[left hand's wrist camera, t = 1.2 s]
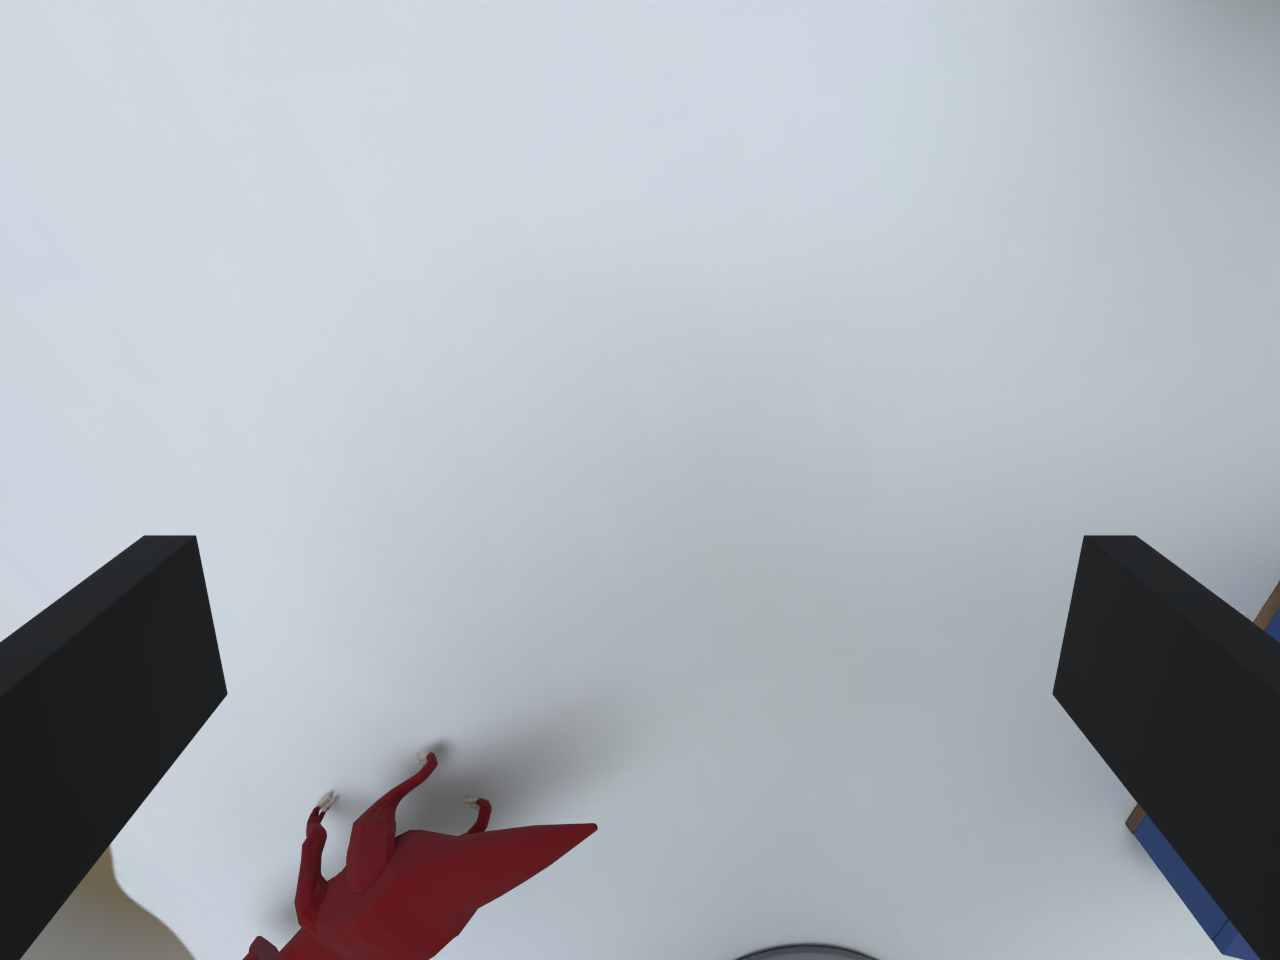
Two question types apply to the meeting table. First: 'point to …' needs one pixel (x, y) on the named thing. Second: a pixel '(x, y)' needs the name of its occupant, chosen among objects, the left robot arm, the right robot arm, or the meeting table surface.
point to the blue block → (1275, 621)
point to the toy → (408, 881)
